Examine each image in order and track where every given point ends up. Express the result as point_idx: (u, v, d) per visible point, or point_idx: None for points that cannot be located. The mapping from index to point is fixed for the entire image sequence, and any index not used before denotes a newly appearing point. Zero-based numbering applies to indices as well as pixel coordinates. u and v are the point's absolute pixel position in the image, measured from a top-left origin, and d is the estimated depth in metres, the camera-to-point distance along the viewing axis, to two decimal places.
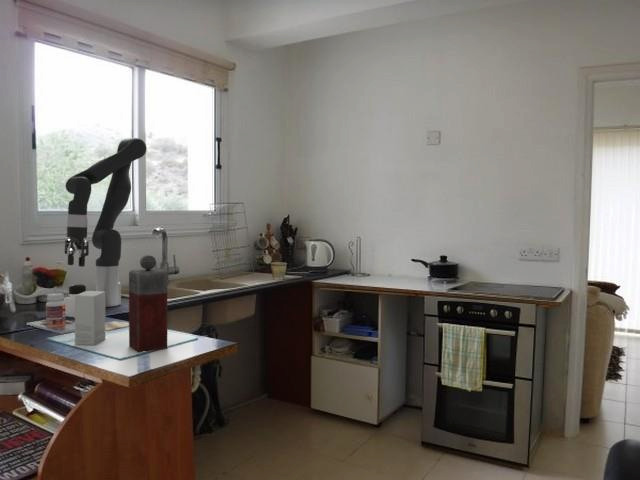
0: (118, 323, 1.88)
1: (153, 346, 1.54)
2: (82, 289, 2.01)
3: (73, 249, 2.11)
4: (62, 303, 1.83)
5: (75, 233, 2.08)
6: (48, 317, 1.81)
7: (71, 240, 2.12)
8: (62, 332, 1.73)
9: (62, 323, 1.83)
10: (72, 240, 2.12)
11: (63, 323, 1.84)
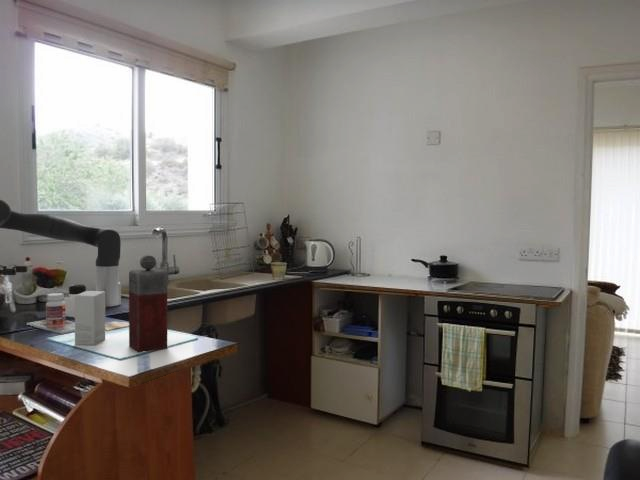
0: (118, 323, 1.88)
1: (153, 346, 1.54)
2: (82, 289, 2.01)
3: None
4: (62, 303, 1.83)
5: None
6: (48, 317, 1.81)
7: None
8: (62, 332, 1.73)
9: (62, 323, 1.83)
10: None
11: (63, 323, 1.84)
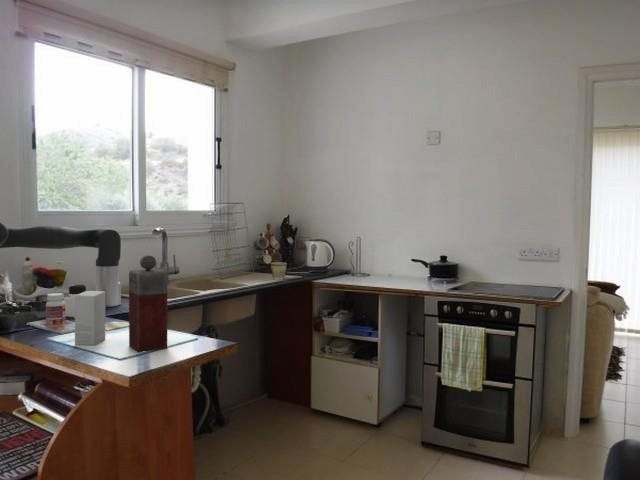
0: (118, 323, 1.88)
1: (153, 346, 1.54)
2: (82, 289, 2.01)
3: None
4: (62, 303, 1.83)
5: None
6: (48, 317, 1.81)
7: None
8: (62, 332, 1.73)
9: (62, 323, 1.83)
10: None
11: (63, 323, 1.84)
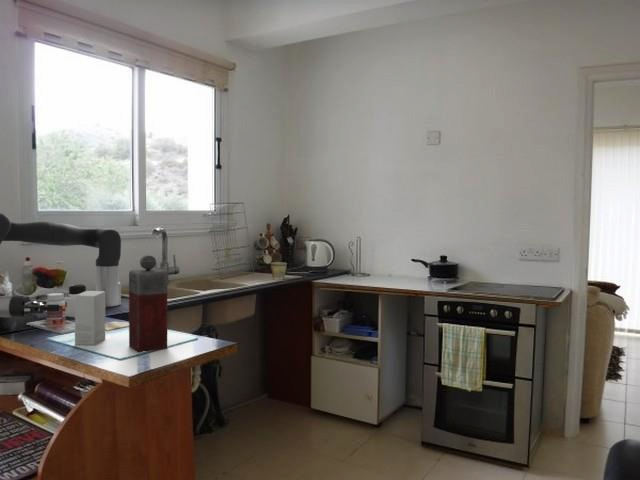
0: (118, 323, 1.88)
1: (153, 346, 1.54)
2: (82, 289, 2.01)
3: None
4: (62, 303, 1.83)
5: (17, 314, 1.80)
6: (48, 317, 1.81)
7: None
8: (62, 332, 1.73)
9: (62, 323, 1.83)
10: None
11: (63, 323, 1.84)
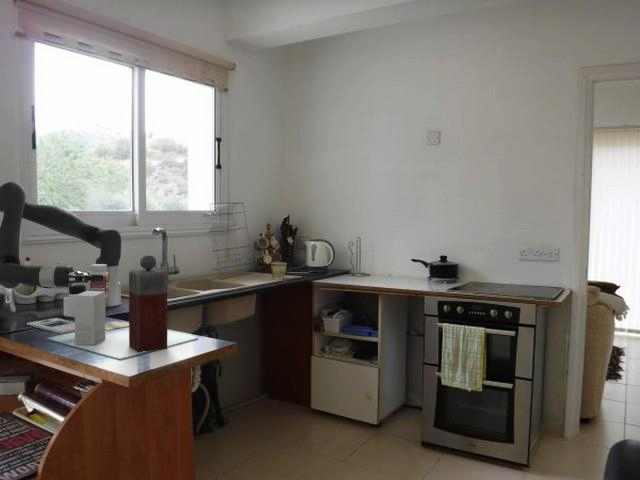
0: (118, 323, 1.88)
1: (153, 346, 1.54)
2: (82, 289, 2.01)
3: None
4: (105, 274, 1.83)
5: (62, 284, 1.80)
6: (92, 287, 1.81)
7: None
8: (62, 332, 1.73)
9: (105, 294, 1.83)
10: None
11: (106, 294, 1.83)
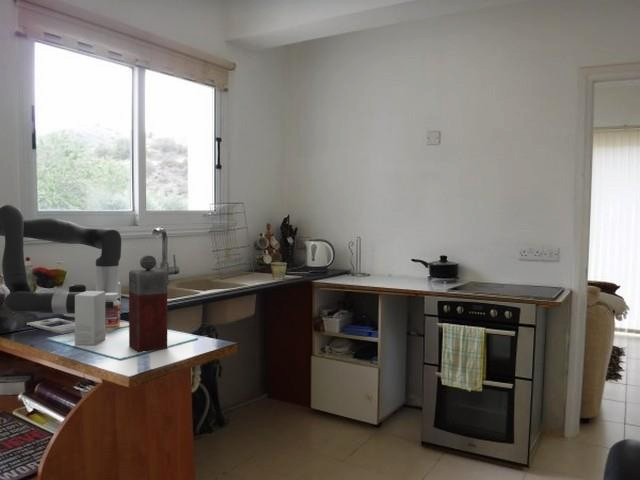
0: None
1: (153, 346, 1.54)
2: (82, 289, 2.01)
3: None
4: (117, 303, 1.83)
5: (74, 311, 1.80)
6: None
7: None
8: (62, 332, 1.73)
9: (117, 322, 1.83)
10: None
11: (118, 322, 1.84)
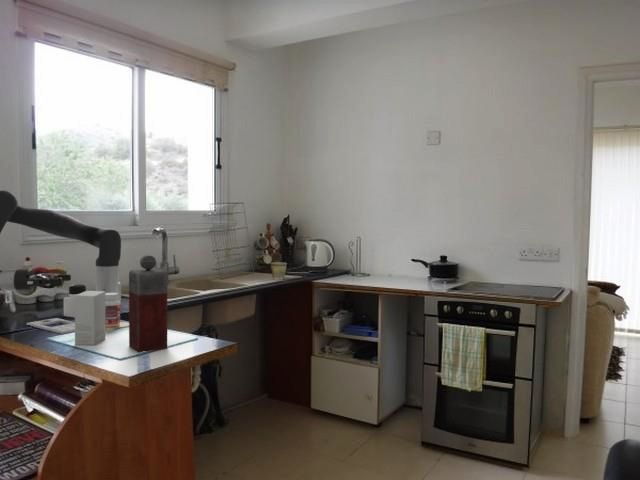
0: None
1: (153, 346, 1.54)
2: (82, 289, 2.01)
3: None
4: (117, 302, 1.83)
5: (22, 287, 1.79)
6: None
7: None
8: (62, 332, 1.73)
9: (117, 322, 1.83)
10: None
11: (118, 322, 1.84)
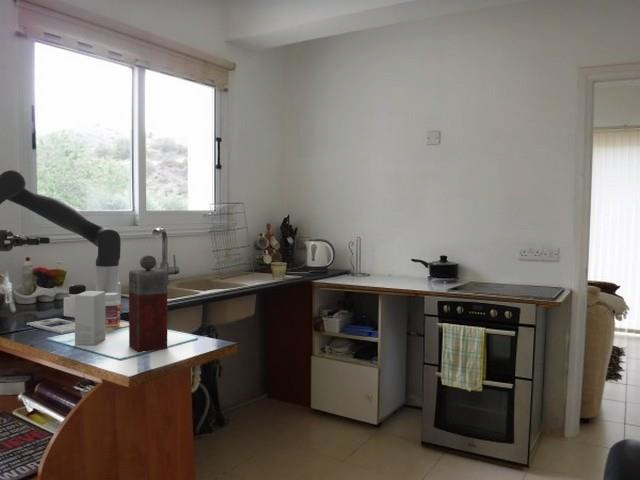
0: None
1: (153, 346, 1.54)
2: (82, 289, 2.01)
3: None
4: (117, 302, 1.83)
5: (0, 248, 1.79)
6: None
7: None
8: (62, 332, 1.73)
9: (117, 322, 1.83)
10: None
11: (118, 322, 1.84)
